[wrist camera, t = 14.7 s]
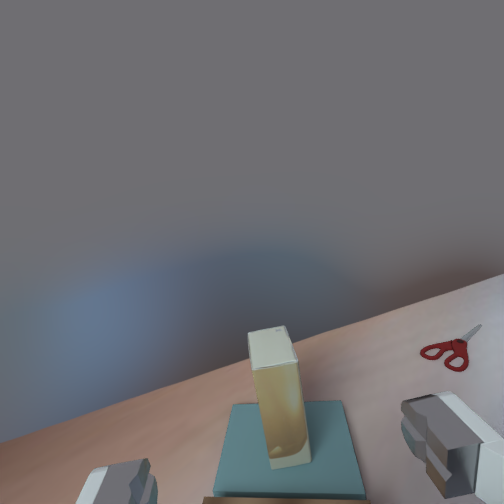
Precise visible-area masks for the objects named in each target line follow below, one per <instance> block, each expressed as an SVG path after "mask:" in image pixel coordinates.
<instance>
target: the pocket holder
mask: <svg viewBox="0 0 504 504" xmlns="http://www.w3.org/2000/svg"><path fill="white" fill-rule="evenodd" d="M202 504H371V503H370V500H331V499H286V498H242V497H204V499H203V503H202Z"/></svg>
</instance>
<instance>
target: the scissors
mask: <svg viewBox="0 0 504 504" xmlns="http://www.w3.org/2000/svg"><path fill="white" fill-rule="evenodd" d="M481 326H482V325H481V324H480V325H478V326H476V327H475V328H474V329H472V330H471V331H470V332H468V333H467V334H466V335H464V336H463V337H462V338H460V339H455V340H453V341H452V340H451V341H448V342H443V343H438V344H433V345H429V346H426V347H425V348H423V349H422V350H421V352H420V354H421V356H422V357H424V358H426V359H429V360H437V359H439V358H440V357H441V356H442V355H443V353H444V352H446V351H448V350H453V351H454V353H453V354H452V355H451V356H449V357H448V358H446V359H445V362H444V364H445V366H446V367H447V368H449V369H451V370H453V371H457V372H461V371H464V370H465V369H466V368H467V367H468V363H469V360H468V354H467V342H468V341H469V339H470V338H471V337H472V336H473V335H474V334H475V333H476V332H477V331H478V330H479V329H480V328H481ZM434 348H439V349H441V350H440V351H439V352H438V353H437V354H436V355H435V356H428V355H426V354H424V353H425V352H426V351H428V350H430V349H434ZM456 357H461V358H463V359H464V363H463V365H462V366H461V367H453V366H451V365H450V364H449V363H450V362H451V361H452V360H453V359H455V358H456Z"/></svg>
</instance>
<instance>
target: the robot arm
mask: <svg viewBox="0 0 504 504" xmlns="http://www.w3.org/2000/svg"><path fill="white" fill-rule="evenodd" d="M401 411H402V412H403V413H404V415H405V416H404V418H403V419H402V421H401V429H402V432H403V435H404V438H405V441H406V443H407V444H408V446H409V448H410V450H411V451H412V452H413V454H414V455H415V457H417V458H418V459H420V460H422V461H423V462H425V463H426V473H427V474H428V476H429V477H430V478H431V480H432V481H433V483H434V484H435V486H436V487H437V488H438V490H439V491H440V493H441V494H442V496H443V497H444V498H445V499H447V498H452V497H457V496H462V495H467V494H472V493H475V495H476V496H477V497H478V498H480V499H481V500H482V501H484V502H485V503H486V504H504V438H502V437H501V436H500V435H499V434H498V433H497V432H496V431H495V430H494V429H492V428H491V427H490V426H489V425H488V424H487V423H486V422H485V421H484V420H483V419H481V418H480V417H479V416H478V415H477V414H476V413H475V412H474V411H473V410H471V409H470V408H469V407H468V406H467V405H466V404H465V403H464V402H463V401H462V400H460V399H459V398H458V397H457V396H456V395H455V394H454V393H452V392H450V391H445V392H440V393H436V394H429V395H425V396H421V397H417V398H413V399H408V400H404V401H403V402H402V403H401ZM150 467H151V465H150V463H149V461H148V458H145V459H140V460H134V461H129V462H124V463H118V464H113V465H108V466H103V467H99V468H95V469H94V470H93V471H92V472H91V473H90V475H89V476H88V478H87V480H86V483H85V485H84V487H83V489H82V491H81V493H80V495H79V497H78V499H77V501H76V503H75V504H157V496H158V489H157V482H156V479H155V476H153V475H151V474H150V473H149V470H150Z"/></svg>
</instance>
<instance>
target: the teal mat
mask: <svg viewBox="0 0 504 504" xmlns="http://www.w3.org/2000/svg"><path fill="white" fill-rule="evenodd" d="M304 406H305V413H306V421H307V428H308V435H309V442H310V450H311V457H312V461H311V462H310V463H306V464H301V465H296V466H291V467H286V468H280V469H274V470H272V469H271V465H270V460H269V456H268V450H267V445H266V439H265V434H264V429H263V424H262V419H261V414H260V409H259V404H235V405H233V406H232V411H231V415H230V419H229V424H228V428H227V432H226V436H225V441H224V445H223V449H222V454H221V458H220V462H219V466H218V471H217V475H216V479H215V484H214V488H213V494H214V497H242V498H286V499H331V500H366V494H365V490H364V486H363V482H362V479H361V475H360V471H359V467H358V463H357V459H356V456H355V452H354V448H353V444H352V440H351V437H350V433H349V429H348V425H347V421H346V417H345V414H344V410H343V406H342V402H341V400H340V401H314V402H304Z"/></svg>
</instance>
